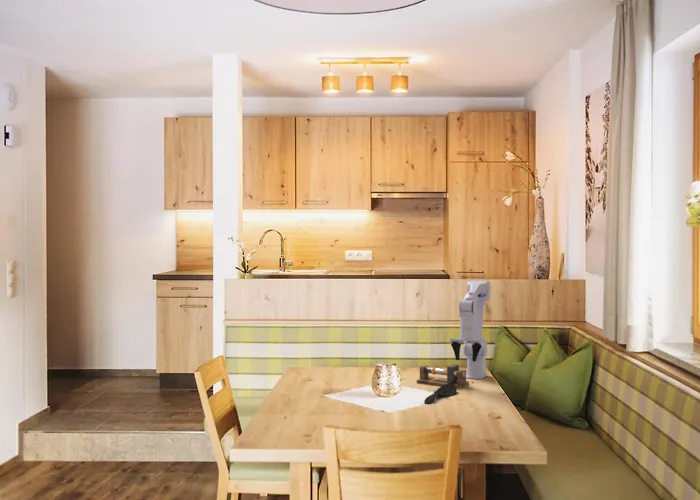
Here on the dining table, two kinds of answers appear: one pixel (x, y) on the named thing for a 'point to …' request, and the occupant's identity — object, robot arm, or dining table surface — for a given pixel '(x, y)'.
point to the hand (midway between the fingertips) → (465, 360)
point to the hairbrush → (442, 392)
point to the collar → (452, 373)
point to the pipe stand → (438, 381)
